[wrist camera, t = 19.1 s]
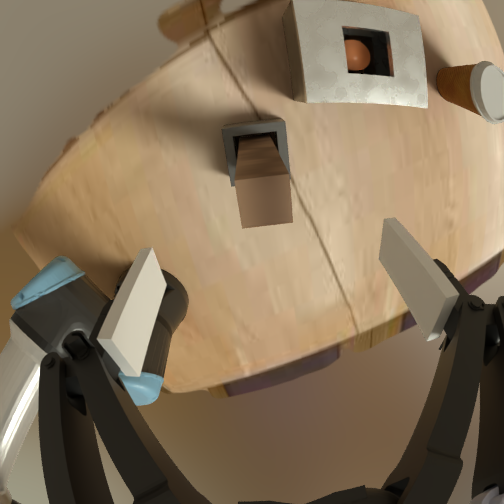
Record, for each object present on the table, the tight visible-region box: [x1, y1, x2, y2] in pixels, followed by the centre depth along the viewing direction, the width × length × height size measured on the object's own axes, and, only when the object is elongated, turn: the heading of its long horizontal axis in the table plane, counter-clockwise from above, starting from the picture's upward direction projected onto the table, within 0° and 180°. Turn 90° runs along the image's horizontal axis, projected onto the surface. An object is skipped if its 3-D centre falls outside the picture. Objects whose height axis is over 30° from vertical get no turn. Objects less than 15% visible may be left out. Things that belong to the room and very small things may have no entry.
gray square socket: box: [222, 118, 291, 187], centre depth 35 cm, size 8×8×4 cm
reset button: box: [344, 40, 370, 71], centre depth 27 cm, size 4×4×4 cm
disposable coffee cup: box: [437, 61, 504, 124], centre depth 24 cm, size 10×10×12 cm
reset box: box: [282, 0, 428, 108], centre depth 25 cm, size 16×13×9 cm
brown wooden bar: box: [234, 133, 293, 229], centre depth 29 cm, size 4×4×20 cm
